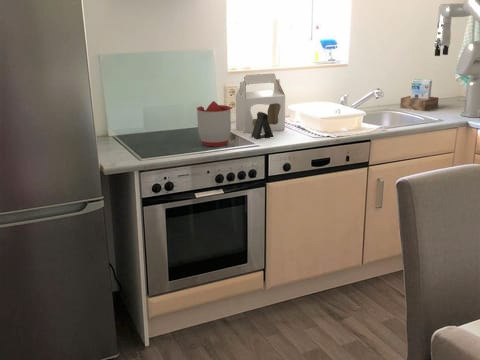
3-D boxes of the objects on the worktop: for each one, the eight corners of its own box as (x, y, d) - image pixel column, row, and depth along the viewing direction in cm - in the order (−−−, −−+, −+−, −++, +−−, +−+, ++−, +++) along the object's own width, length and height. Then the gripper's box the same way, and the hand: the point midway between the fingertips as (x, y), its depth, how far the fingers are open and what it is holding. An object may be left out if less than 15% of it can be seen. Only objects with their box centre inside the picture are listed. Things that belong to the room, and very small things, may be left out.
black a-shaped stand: (268, 135, 273) (268, 110, 270) (273, 137, 268) (273, 112, 264) (251, 136, 270) (251, 112, 266) (256, 139, 265) (256, 114, 261)
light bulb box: (410, 98, 335) (411, 80, 331) (412, 96, 340) (414, 78, 337) (428, 99, 330) (430, 80, 326) (430, 97, 335) (432, 79, 332)
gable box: (274, 124, 296) (274, 71, 287) (285, 129, 284) (286, 74, 275) (235, 128, 288) (234, 74, 279) (245, 133, 276) (244, 77, 268)
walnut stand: (437, 107, 337) (438, 97, 335) (424, 111, 326) (425, 100, 324) (413, 104, 348) (414, 94, 346) (400, 107, 337) (400, 97, 335)
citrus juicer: (220, 138, 268) (219, 96, 262) (237, 145, 254) (237, 102, 247) (190, 142, 261) (189, 99, 255) (206, 150, 247) (205, 105, 240)
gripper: (443, 26, 321) (440, 56, 326) (456, 25, 332) (453, 54, 337) (430, 26, 326) (428, 56, 331) (445, 25, 337) (442, 54, 342)
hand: (441, 55), depth 334 cm, fingers open, 9 cm apart
